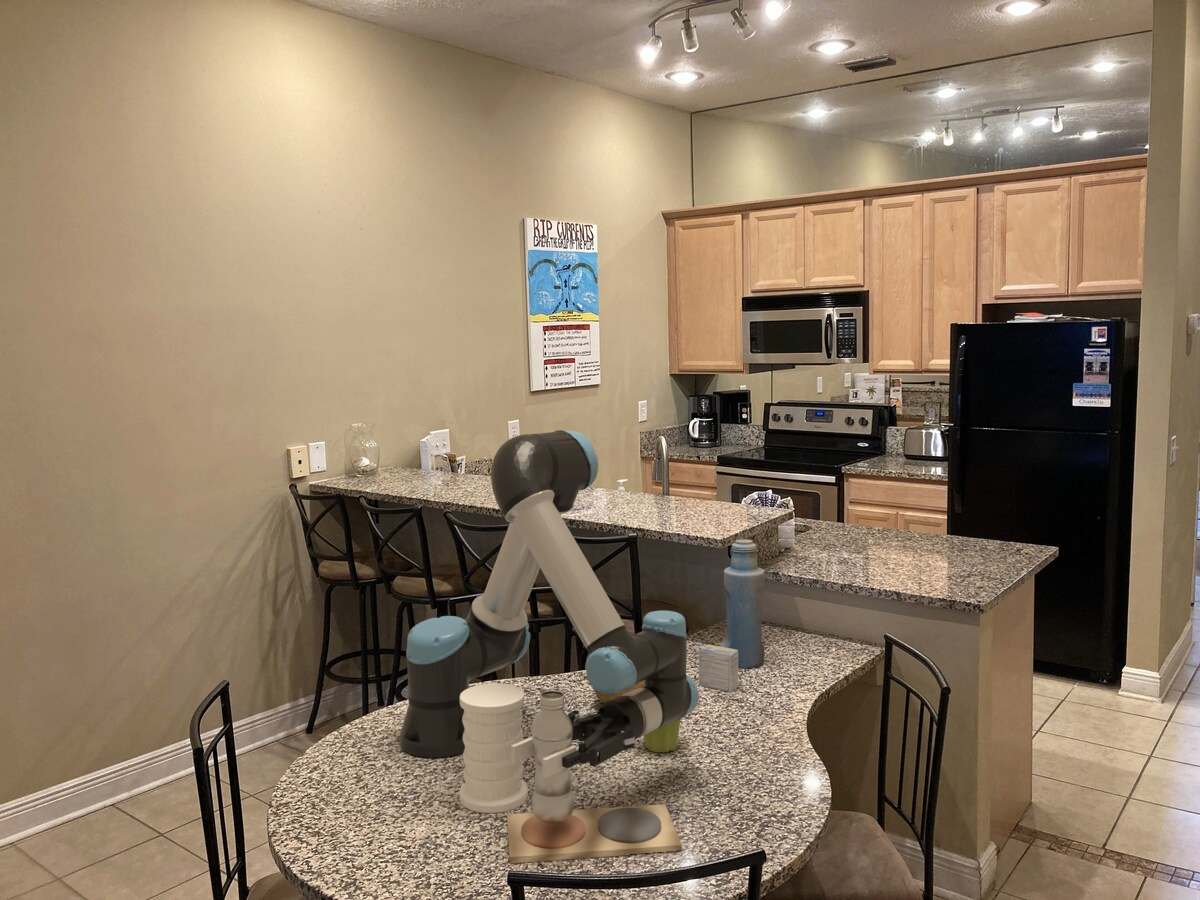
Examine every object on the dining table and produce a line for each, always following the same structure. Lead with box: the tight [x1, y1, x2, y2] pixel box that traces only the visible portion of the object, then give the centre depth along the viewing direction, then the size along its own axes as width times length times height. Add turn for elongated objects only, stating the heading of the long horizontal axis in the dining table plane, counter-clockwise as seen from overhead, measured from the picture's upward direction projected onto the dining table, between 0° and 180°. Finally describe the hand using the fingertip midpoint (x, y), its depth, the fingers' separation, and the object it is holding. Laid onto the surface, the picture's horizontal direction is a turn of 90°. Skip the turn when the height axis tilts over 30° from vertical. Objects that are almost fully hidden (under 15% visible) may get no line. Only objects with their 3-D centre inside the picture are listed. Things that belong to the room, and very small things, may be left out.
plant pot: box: [643, 718, 682, 754], centre depth 181 cm, size 9×9×9 cm
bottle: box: [723, 539, 765, 669], centre depth 228 cm, size 10×10×30 cm
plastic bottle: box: [530, 690, 576, 824], centre depth 146 cm, size 6×7×20 cm
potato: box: [593, 680, 644, 704], centre depth 203 cm, size 10×14×8 cm
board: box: [506, 803, 683, 864], centre depth 149 cm, size 26×13×2 cm, turn 97°
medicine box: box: [698, 644, 739, 693], centre depth 213 cm, size 8×4×9 cm, turn 58°
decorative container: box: [459, 682, 529, 814], centre depth 161 cm, size 12×12×18 cm
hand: (528, 761), depth 143 cm, fingers closed on plastic bottle, 6 cm apart
